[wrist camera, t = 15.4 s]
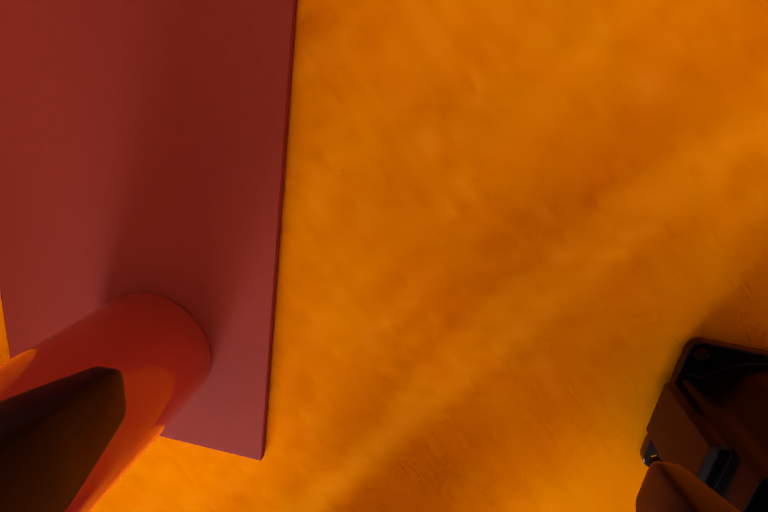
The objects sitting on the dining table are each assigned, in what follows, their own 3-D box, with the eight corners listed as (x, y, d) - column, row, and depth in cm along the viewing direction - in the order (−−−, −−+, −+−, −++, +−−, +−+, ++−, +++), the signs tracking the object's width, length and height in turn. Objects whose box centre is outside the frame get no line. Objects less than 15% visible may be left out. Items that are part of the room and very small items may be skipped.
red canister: (216, 302, 22) (-70, 544, 10) (214, 416, 25) (-24, 721, 13) (89, 275, 23) (-318, 472, 11) (98, 388, 25) (-233, 653, 13)
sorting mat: (344, -660, 12) (340, -682, 12) (264, 455, 25) (261, 461, 25) (-130, -655, 14) (-146, -675, 14) (22, 396, 27) (16, 401, 26)
